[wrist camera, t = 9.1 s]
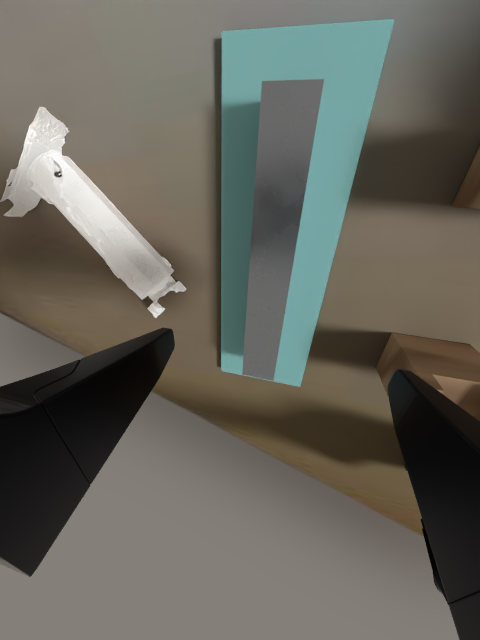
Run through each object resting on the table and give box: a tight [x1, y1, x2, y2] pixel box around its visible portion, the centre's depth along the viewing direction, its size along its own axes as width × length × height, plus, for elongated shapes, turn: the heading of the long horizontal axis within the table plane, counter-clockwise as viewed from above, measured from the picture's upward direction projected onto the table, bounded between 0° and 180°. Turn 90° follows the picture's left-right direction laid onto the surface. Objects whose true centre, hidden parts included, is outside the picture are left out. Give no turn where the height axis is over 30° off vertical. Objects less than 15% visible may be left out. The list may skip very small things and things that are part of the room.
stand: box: [376, 333, 480, 421], centre depth 18 cm, size 4×6×6 cm, turn 87°
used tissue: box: [0, 107, 186, 318], centre depth 21 cm, size 11×18×4 cm, turn 29°
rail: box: [242, 79, 324, 381], centre depth 17 cm, size 20×3×3 cm, turn 178°
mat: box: [221, 19, 395, 387], centre depth 19 cm, size 26×9×1 cm, turn 178°
